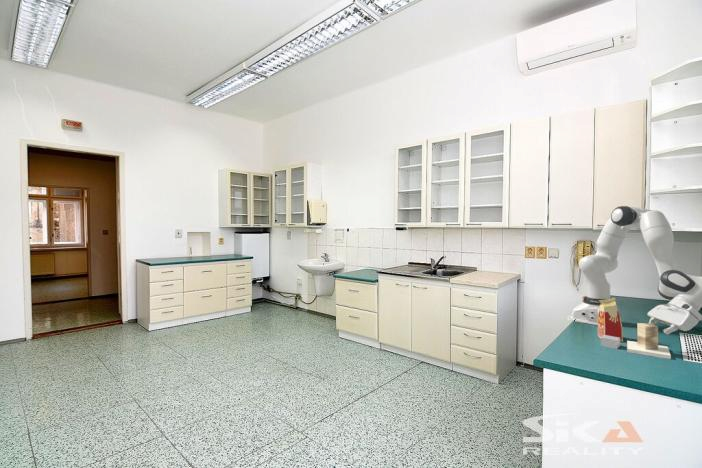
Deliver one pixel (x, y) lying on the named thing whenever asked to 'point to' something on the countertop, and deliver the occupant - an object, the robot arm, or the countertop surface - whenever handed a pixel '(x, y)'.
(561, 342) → the countertop surface
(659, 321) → the robot arm
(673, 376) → the countertop surface
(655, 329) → the maple block
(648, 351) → the off-white board
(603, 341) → the grey plastic box
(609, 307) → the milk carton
